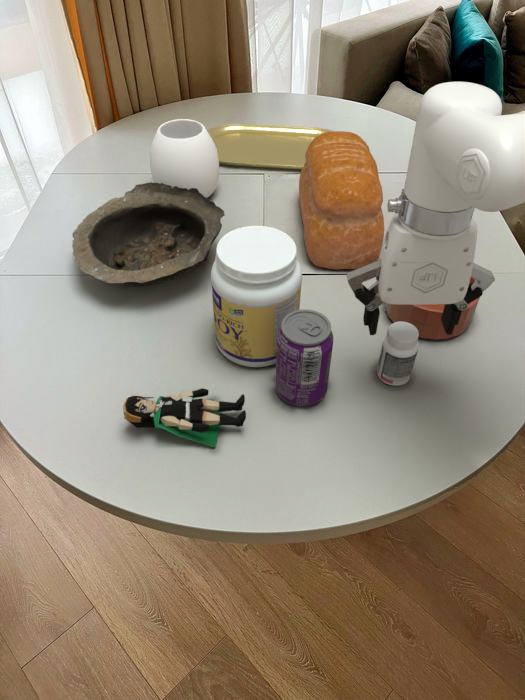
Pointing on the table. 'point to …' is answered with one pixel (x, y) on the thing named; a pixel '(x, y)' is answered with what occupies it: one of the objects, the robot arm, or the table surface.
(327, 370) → the beverage can
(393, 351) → the pill bottle
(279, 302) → the supplement tub
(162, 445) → the table surface
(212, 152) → the white vase
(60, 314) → the table surface
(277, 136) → the serving platter
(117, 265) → the stone bowl
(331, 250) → the bread
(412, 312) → the terracotta bowl
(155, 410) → the figurine
